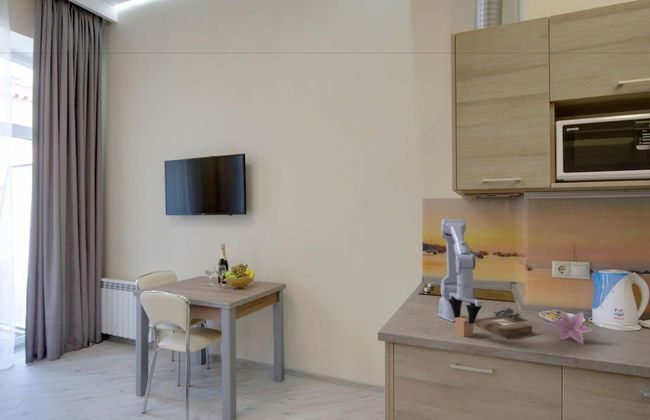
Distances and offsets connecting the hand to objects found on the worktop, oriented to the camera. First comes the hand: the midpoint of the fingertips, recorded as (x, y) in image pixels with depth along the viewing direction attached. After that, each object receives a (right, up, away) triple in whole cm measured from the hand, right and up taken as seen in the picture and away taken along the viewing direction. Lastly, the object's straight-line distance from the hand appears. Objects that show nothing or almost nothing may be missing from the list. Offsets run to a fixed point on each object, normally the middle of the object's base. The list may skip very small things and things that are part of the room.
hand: (464, 320), depth 138 cm
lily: (+39, -6, -3) cm, 40 cm away
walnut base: (+18, -6, +6) cm, 20 cm away
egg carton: (+28, -6, +22) cm, 36 cm away
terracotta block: (0, -5, 0) cm, 5 cm away
